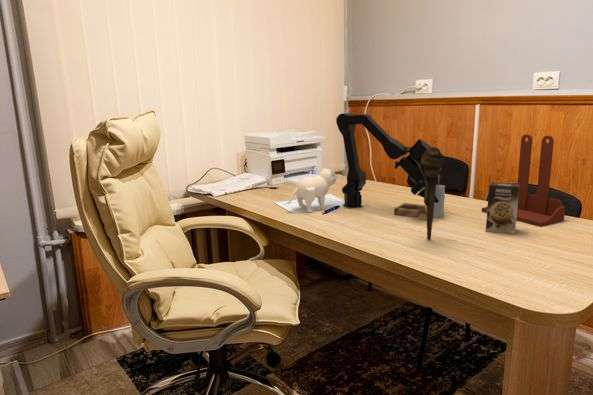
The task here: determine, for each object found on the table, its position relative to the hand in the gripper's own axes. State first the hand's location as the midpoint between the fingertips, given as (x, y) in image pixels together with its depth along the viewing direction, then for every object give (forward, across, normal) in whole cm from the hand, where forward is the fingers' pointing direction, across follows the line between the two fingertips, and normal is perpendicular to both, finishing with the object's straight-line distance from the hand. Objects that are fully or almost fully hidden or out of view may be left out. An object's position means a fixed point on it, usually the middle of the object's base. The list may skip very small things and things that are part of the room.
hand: (441, 200), depth 160 cm
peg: (+4, 0, +6) cm, 7 cm away
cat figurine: (-30, -12, +40) cm, 52 cm away
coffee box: (+21, -7, -11) cm, 24 cm away
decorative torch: (+8, -28, +2) cm, 29 cm away
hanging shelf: (+23, +14, -13) cm, 30 cm away
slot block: (-4, 0, +13) cm, 14 cm away
